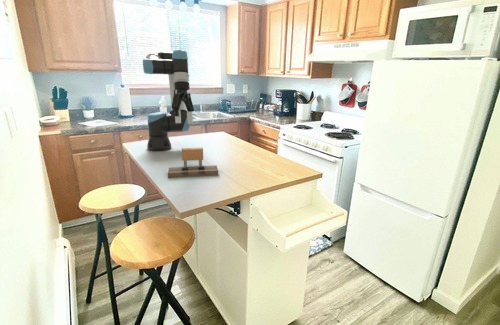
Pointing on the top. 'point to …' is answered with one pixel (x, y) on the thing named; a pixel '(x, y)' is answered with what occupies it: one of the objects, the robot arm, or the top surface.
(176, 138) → the top surface
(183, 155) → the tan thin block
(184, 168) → the rail
